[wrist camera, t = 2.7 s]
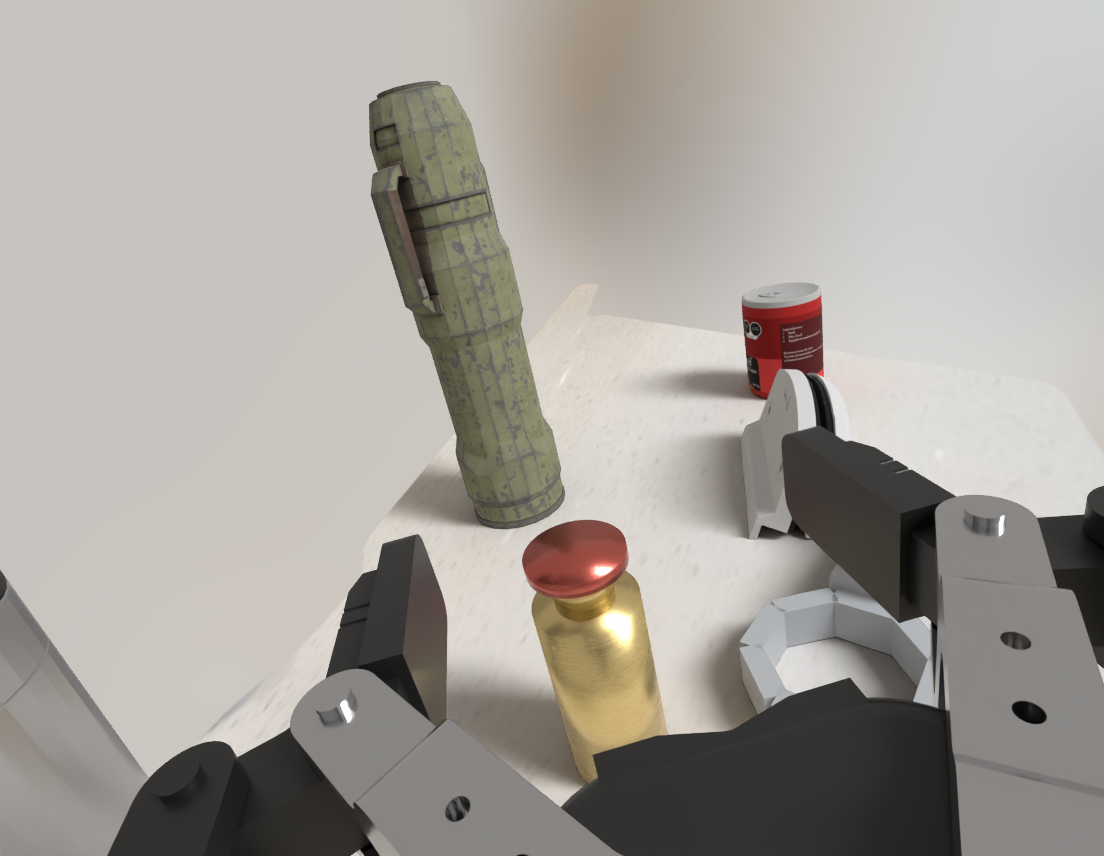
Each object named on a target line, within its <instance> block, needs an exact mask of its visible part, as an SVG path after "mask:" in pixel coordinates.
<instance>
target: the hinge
mask: <svg viewBox="0 0 1104 856" xmlns="http://www.w3.org/2000/svg"><path fill="white" fill-rule="evenodd" d="M815 426H822V427H824V428H825V429H827V430H828V431H830V432H831V433H833V434H835V435H836V436H838V437H839V438H841V439H843V440H844V441H852V436H851V428H850V422H849V417H848V413H847V408H846V405H845V402H844V399H843V397H842V394H841V392H840V390H839V389H838V387H837V386H836V385H835V384H834V383H833V382H832V381H831V380H829V379H827V378H824V377H822V376H820V375H818V374H815V373H808V374H807V375H804V374H803V373H802V372H801V371H799V370H793V369H779V370H778V372H777V374H776V377H775V379H774V382H773V385H772V388H771V390H770V393H769V396H768V399H767V401H766V404H765V407H764V410H763V412H762V415H761V418H760V419H759V420H758V421H756V422H754V423H751V424H749V425H747V426H746V427H745V430H744V433H743V436H742V439H741V453H742V464H743V475H744V486H745V498H746V509H747V520H748V532H749V539H753V540H756V539H757V537H758V534H759V531H760V529H761V526H762V525H764V526H766V527H769V528H772V529H775V530H778V531H781V532H784V533H787V532H788V529H794V527H795V524H796V523H795V522H794V520H793V518H792V517H791V515H790V512H789V510H788V507H787V504H786V499H785V488H784V475H783V462H782V449H781V443H782V438H783V437H784V435H786V434H790V433H793V432H797V431H801V430H804V429H808V428H812V427H815ZM799 528H800V527H799ZM800 531H802V532H804V531H803V530H802V529H801V528H800ZM804 533H805V532H804ZM805 537H806V538H810V537H809V536H808V535H807V534H806V533H805ZM810 539H811V538H810Z"/></svg>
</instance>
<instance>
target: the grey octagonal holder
mask: <svg viewBox="0 0 1104 856" xmlns="http://www.w3.org/2000/svg"><path fill="white" fill-rule="evenodd" d="M771 601H772V605H770V604H766V603H765V605H764V606H763V608H762V609H761V611H760V612H759V614H758V615H757V616H756V618H755V619H754V621H753V622H752V624H751V625H750V627H749V628H748V630H747V631H746V633H745V634H744V636H743V637H742V639H741V640H740V648H739V652H740V660H741V669H742V678H743V684H744V686H745V688H746V690H747V693H748V695H749V697H750V699H751V701H752V703H753V706H754V708H755V710H756V712H757V714H760V713H761V712H763V711H765V710H766V709H768V708H769V707H771V706H773V705H774V704H776V703H778V702H779V701H781V700H783V699H784V698H786V697H788V696H791V695H794V694H796V693H793V692H791V691H788V690H786V688H785V687H784V685H783V683H782V681H781V679H780V677H779V676H778V674H777V672H776V670H775V666H776V665H777V663H778V661H779V660H780V658H781V656H782V655H783V653H784V651H785V650H786V648H787V647H790V646H795V645H800V644H804V643H809V642H814V641H819V640H823V639H828V638H833V637H838V638H841V639H844V640H847V641H850V642H853V643H856V644H859V645H862V646H865V647H868V648H871V649H874V650H877V651H880V652H883V653H886V654H889V655H892V656H893V657H894V659H895V660H896V661H897V662H898V664H899V665H900V666H901V667H902V669H903V670H904V671H905V672H906V674H907V675H908V676H909V677H910V679H911V680H912V681H913V682H914V684H915V685H916V686H917V687H918V688H917V691H916V694H915V697H914V700H913V702H917V703H922V704H926V705H930V706H933V705H932V675H931V645H930V630H929V629H928V628H927V627H926V625H925V624H924V623H923V622H922V621H921V620H920V619H919V618H915V619H912V620H908V621H905V622H902V623H898V622H897V621H896V620H895V619H894V618H893V617H892V616H891V615H890V614H889V613H888V612H887V611H886V610H885V609H884V608H883V607H882V606H881V605H880V604H879V603H878V602H877V601H875V600H874V599H873V598H872V597H871V596H870V595H869V594H868V593H867V592H866V591H865V590H864V589H863V588H862V587H861V586H860V585H859V584H858V583H857V582H856V581H855V580H854V579H853V578H852V577H851V576H850V575H849V574H847V573H846V572H845V571H844V570H843V569H842V568H841V567H840V566H839V565H838V564H836V566H835V567H834V569H833V571H832V572H831V574H830V577H829V587H828V588H823V589H819V590H814V591H809V592H805V593H800V594H795V595H791V596H786V597H782V598H777V599H772V600H771Z"/></svg>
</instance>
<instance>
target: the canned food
mask: <svg viewBox="0 0 1104 856" xmlns="http://www.w3.org/2000/svg"><path fill="white" fill-rule="evenodd" d="M742 312H743V313H742V314H743V325H744V336H745V347H746V358H747V369H748V380H749V385H750V387H751V390H752V392H753V393H754V394H756V395H758V396H759V397H762V398H766V399H768V396H769V393H770V390H771V388H772V385H773V382H774V379H775V377H776V374H777V372H778V370H779V369H793V370H799V371H801V372H802V373H803V374H804V375H807V374H808V373H815V374H818V375H820V376H822V377H824V370H823V334H822V304H821V292H820V287H819V286H817V285H815V284H810V283H784V284H776V285H769V286H765V287H761V288H757V289H754V290H751V291H749V292H747V293H746V294H744V295H743V296H742Z"/></svg>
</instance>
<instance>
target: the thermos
mask: <svg viewBox="0 0 1104 856" xmlns="http://www.w3.org/2000/svg"><path fill="white" fill-rule="evenodd" d="M377 98H378V99H377V100H375V101H372V102H371V103H370V104H369V120H370V147H371V150H372V153H373V157H374V160H375V163H376V166H377V170H378V172H376V173H374V174H373V178H372V187H371V197H372V200H373V203H374V207H375V210H376V213H377V216H378V220H379V223H380V226H381V229H382V232H383V235H384V239H385V242H386V245H387V248H388V251H389V254H390V257H391V261H392V264H393V267H394V270H395V274H396V277H397V280H398V283H399V287H400V290H401V293H402V296H403V299H404V303H405V306H406V307H407V308H409V309H410V310H412V312H413V315H414V318H415V321H416V324H417V328H418V331H419V334H420V337H421V338H422V339H423V340H424V342H425V343H426V344H427V345H428V346H429V347H430V350H431V353H432V356H433V360H434V363H435V367H436V370H437V373H438V376H439V380H440V383H441V386H442V390H443V393H444V396H445V399H446V403H447V406H448V409H449V412H450V416H451V419H452V422H453V426H454V429H455V432H456V435H457V442H456V456H457V460H458V463H459V466H460V470H461V473H462V476H463V479H464V483H465V486H466V489H467V492H468V496H469V497H470V498H471V499H472V500H473V503H474V506H475V512H476V515H477V519H478V520H479V521H480V522H481V523H482V524H483V525H486V526H489V527H492V528H500V529H510V528H517V527H523V526H526V525H529V524H533V523H536V522H538V521H540V520H542V519H544V518H546V517H548V516H549V515H551V514H552V513H553V512H554V511H556V510H557V509H558V508H559V507H560V505H561V504H562V502H563V501H564V496H565V491H564V487H563V485H562V482H561V477H560V471H561V466H560V462H559V458H558V453H557V449H556V445H555V441H554V436H553V432H552V429H551V428H550V426H549V425H548V423H547V422H546V420H545V419H544V417H543V416H542V412H541V408H540V403H539V399H538V395H537V391H536V387H535V382H534V378H533V374H532V370H531V366H530V361H529V357H528V353H527V349H526V345H525V340H524V336H523V333H522V328H521V318H522V312H523V307H522V303H521V299H520V295H519V290H518V286H517V282H516V278H515V273H514V269H513V265H512V261H511V256H510V252H509V248H508V247H507V245H506V243H505V241H504V240H503V238H502V236H501V234H500V232H499V228H498V224H497V220H496V216H495V211H494V207H493V203H492V199H491V194H490V191H489V186H488V182H487V177H486V173H485V170H484V167H483V165H482V163H481V162H480V159H479V155H478V151H477V147H476V143H475V138H474V134H473V130H472V126H471V123H470V121H469V119H468V117H467V115H466V113H465V111H464V109H463V108H462V106H461V104H460V102H459V101H458V99H457V97H456V95H455V93H454V92H453V90H452V88H451V87H450V86H446V85H440V82H438V81H426V82H418V83H412V84H408V85H403V86H399V87H395V88H392V89H389V90H386V91H384V92H382V93H380V94H378V95H377Z"/></svg>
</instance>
